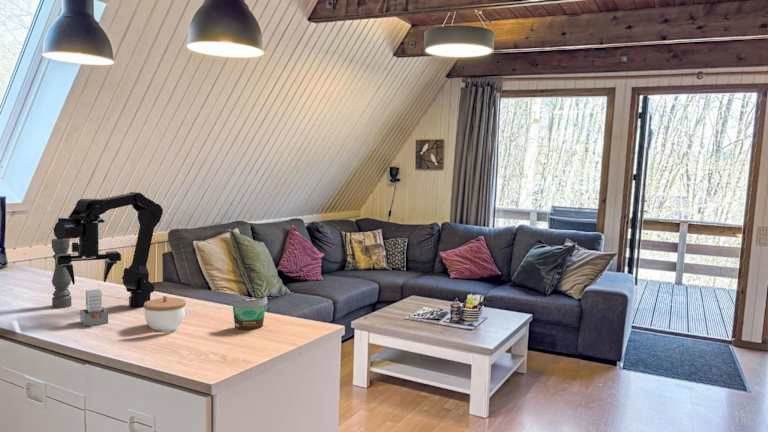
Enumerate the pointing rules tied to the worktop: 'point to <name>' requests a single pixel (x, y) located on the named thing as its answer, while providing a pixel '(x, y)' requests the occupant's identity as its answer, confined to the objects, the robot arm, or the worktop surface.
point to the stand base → (94, 318)
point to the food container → (249, 313)
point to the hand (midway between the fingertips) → (89, 283)
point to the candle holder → (61, 276)
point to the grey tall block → (93, 301)
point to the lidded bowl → (164, 313)
